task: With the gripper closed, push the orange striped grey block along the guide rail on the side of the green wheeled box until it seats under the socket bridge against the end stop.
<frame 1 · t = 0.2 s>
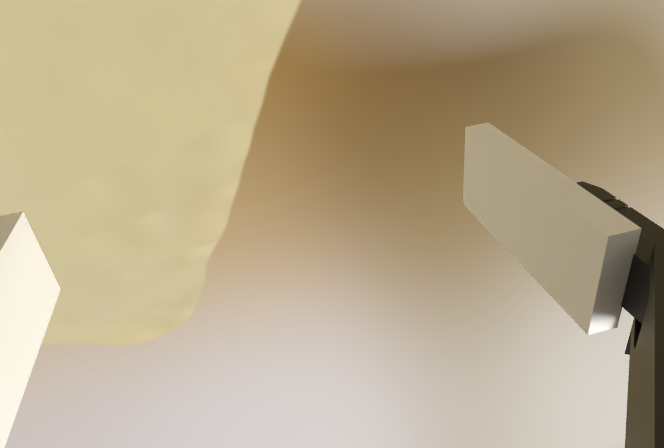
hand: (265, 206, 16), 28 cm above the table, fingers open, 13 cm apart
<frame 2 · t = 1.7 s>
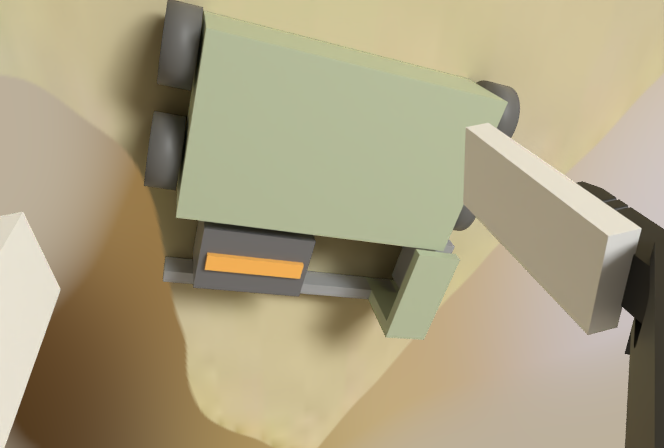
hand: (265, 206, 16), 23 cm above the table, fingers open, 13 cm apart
green wheeled box: (312, 175, 41), on the table
orange striped grey block: (251, 247, 40), point 3 cm above the table, slide at 0.0 cm
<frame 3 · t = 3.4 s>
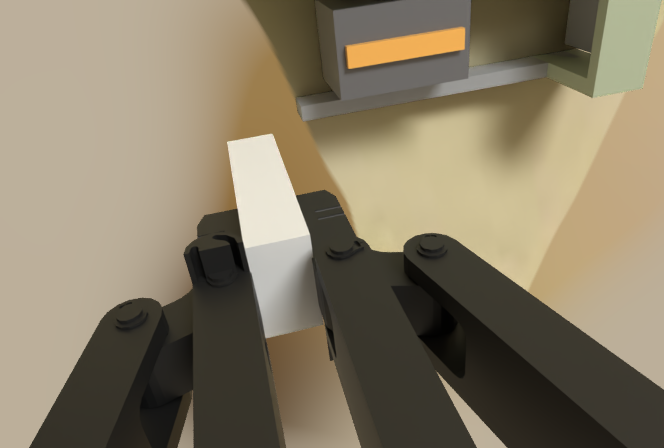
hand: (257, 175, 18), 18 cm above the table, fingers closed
orange striped grey block: (391, 38, 32), point 3 cm above the table, slide at 0.0 cm
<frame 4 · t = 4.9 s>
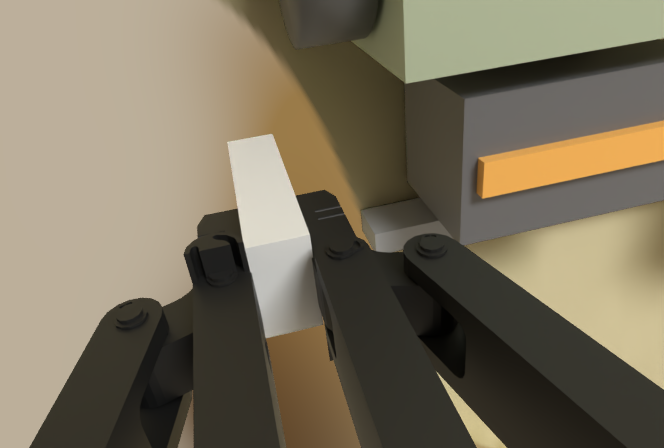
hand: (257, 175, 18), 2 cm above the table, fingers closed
orange striped grey block: (539, 129, 18), point 3 cm above the table, slide at 0.0 cm
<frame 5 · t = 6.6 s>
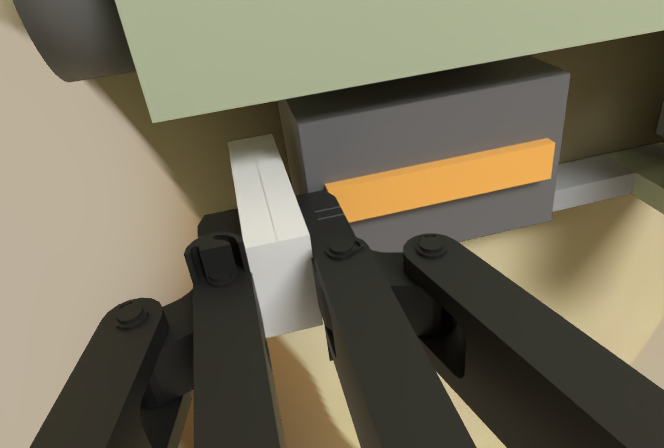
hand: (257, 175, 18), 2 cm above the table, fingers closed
orange striped grey block: (412, 149, 18), point 3 cm above the table, slide at 1.5 cm, touching gripper
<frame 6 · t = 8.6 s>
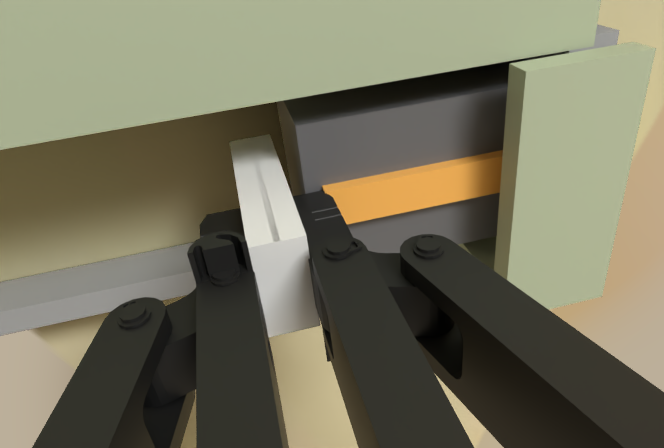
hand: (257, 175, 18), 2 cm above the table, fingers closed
orange striped grey block: (411, 151, 18), point 3 cm above the table, slide at 10.0 cm, touching gripper, green wheeled box
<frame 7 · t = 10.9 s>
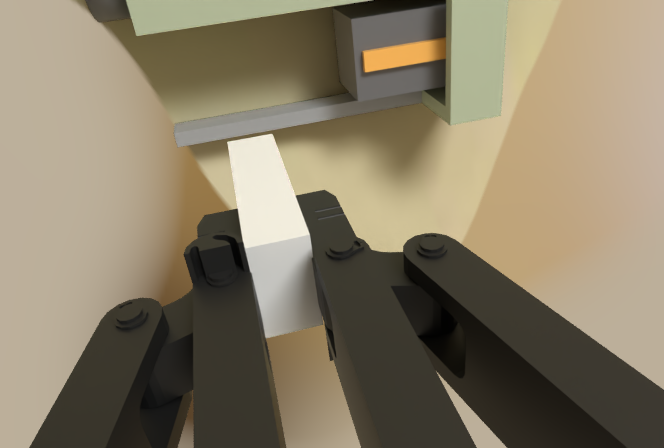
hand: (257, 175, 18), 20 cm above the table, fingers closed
orange striped grey block: (404, 44, 34), point 3 cm above the table, slide at 10.0 cm
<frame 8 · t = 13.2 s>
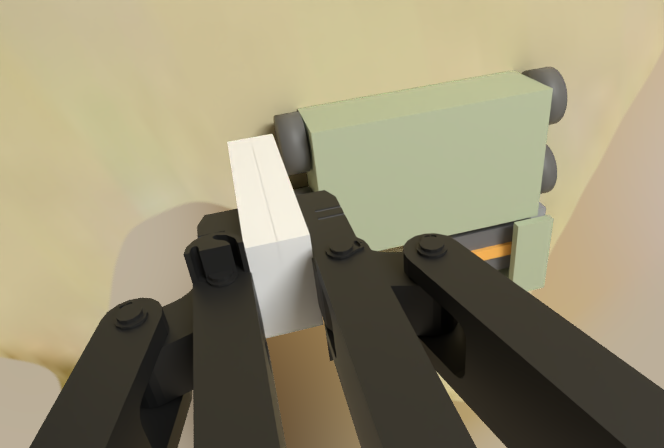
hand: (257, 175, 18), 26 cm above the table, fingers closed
green wheeled box: (411, 189, 51), on the table
orange striped grey block: (480, 238, 52), point 3 cm above the table, slide at 10.0 cm
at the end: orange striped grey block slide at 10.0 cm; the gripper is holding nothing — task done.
